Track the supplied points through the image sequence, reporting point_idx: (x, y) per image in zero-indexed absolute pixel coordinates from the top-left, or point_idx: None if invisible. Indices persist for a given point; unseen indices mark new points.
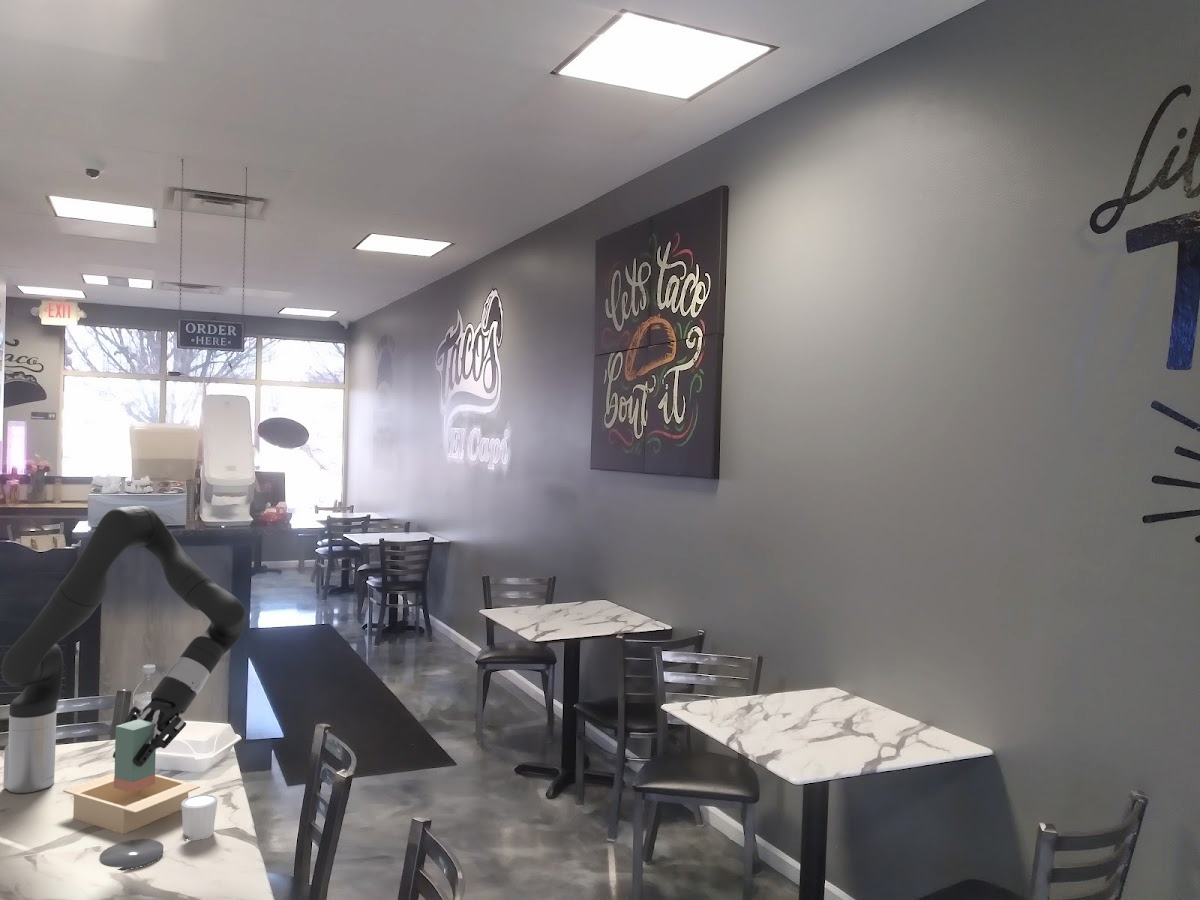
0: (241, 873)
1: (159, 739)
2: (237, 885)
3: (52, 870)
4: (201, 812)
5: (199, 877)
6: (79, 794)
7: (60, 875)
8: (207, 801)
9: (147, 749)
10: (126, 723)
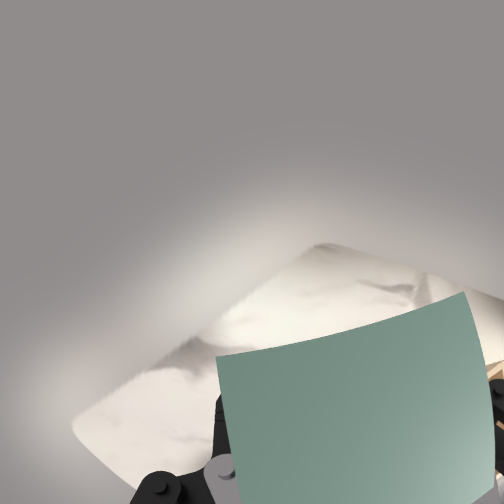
0: (110, 451)
1: (140, 487)
2: (89, 423)
3: (342, 296)
4: None
5: (142, 419)
6: (498, 366)
7: (317, 298)
8: None
9: (213, 441)
10: (477, 388)
